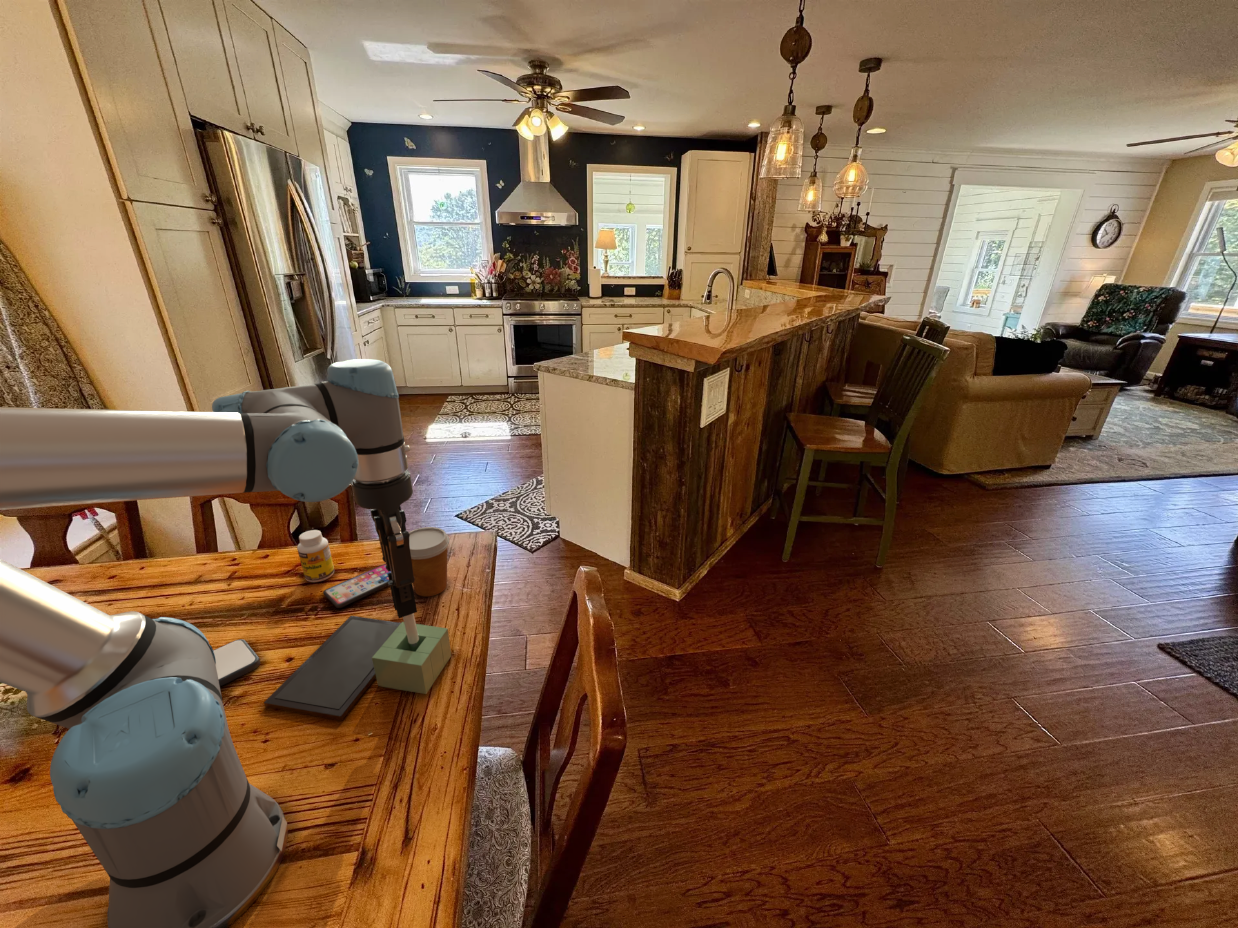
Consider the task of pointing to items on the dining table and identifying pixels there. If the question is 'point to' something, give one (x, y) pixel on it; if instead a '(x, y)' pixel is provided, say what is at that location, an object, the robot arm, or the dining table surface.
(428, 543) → the disposable coffee cup
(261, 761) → the dining table surface
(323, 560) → the supplement bottle
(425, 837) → the dining table surface
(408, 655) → the pen stand
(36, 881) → the dining table surface
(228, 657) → the phone case
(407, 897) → the dining table surface
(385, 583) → the smartphone
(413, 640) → the stylus
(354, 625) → the tablet
